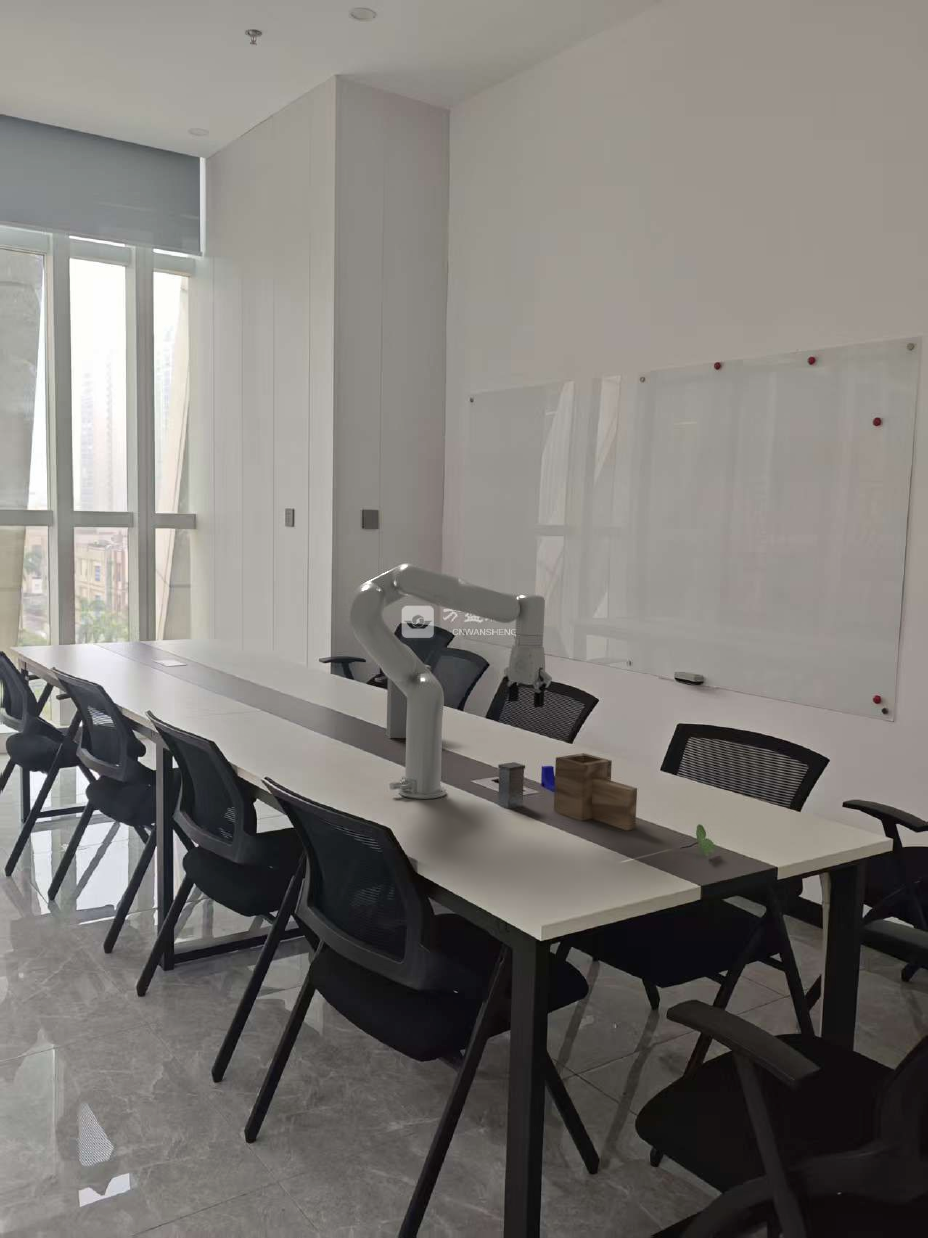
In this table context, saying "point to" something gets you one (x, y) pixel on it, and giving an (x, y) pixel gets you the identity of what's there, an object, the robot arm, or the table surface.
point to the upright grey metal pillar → (511, 785)
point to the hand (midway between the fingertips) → (525, 704)
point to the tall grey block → (396, 710)
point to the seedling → (703, 841)
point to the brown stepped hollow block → (593, 792)
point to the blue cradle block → (548, 778)
